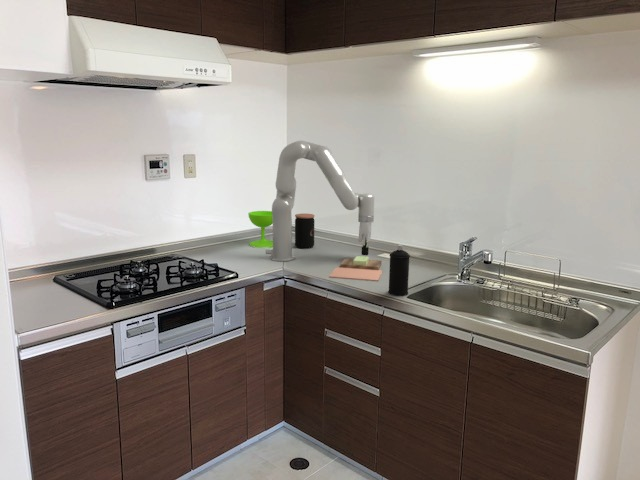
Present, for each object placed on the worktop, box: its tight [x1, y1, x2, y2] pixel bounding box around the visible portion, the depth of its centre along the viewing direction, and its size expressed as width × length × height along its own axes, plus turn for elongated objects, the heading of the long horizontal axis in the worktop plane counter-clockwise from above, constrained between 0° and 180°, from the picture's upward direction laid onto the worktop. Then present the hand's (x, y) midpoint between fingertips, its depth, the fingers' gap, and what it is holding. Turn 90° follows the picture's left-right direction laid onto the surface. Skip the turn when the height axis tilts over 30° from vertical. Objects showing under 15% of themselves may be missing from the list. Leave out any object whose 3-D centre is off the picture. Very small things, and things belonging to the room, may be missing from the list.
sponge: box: [353, 255, 370, 266], centre depth 250 cm, size 6×9×2 cm, turn 166°
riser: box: [340, 257, 382, 270], centre depth 251 cm, size 18×12×2 cm, turn 76°
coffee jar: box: [294, 213, 315, 250], centre depth 288 cm, size 11×11×18 cm
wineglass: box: [248, 210, 273, 248], centre depth 292 cm, size 16×16×18 cm
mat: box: [328, 266, 383, 282], centre depth 238 cm, size 22×16×1 cm
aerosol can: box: [387, 244, 411, 297], centre depth 210 cm, size 8×8×20 cm
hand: (364, 254), depth 261 cm, fingers closed
